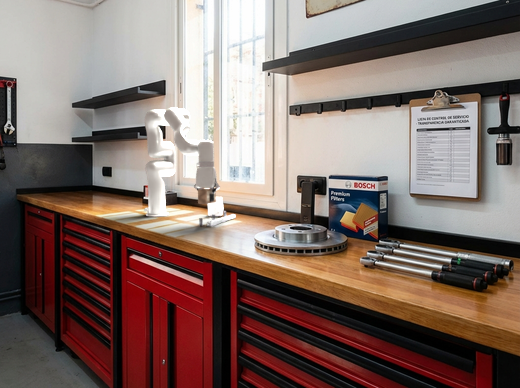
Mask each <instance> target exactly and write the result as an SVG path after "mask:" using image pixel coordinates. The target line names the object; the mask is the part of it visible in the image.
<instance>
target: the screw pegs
mask: <svg viewBox="0 0 520 388" xmlns="http://www.w3.org/2000/svg"><path fill="white" fill-rule="evenodd" d="M225 216H227V210H223V213H222V217H225ZM198 219H199V223H198V224H199V226H200V227H201V226H202V227H203V226H204V225H203V217H199V218H198ZM215 219H216V217H215V214H212V217H211V221H212V220H215Z"/></svg>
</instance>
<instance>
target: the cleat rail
mask: <svg viewBox="0 0 520 388" xmlns="http://www.w3.org/2000/svg"><path fill="white" fill-rule="evenodd" d="M236 216H237V215H236V213H235V214H234V213H231V214H227V215H226V216H225V217H223V216H222V217H219V218H215V220H212V219H211V220H210V221H207V222H206V226H207V227H213V226H217V225H219V224H222V223H225V222H227V221H231V220H233V219H236Z"/></svg>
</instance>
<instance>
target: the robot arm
mask: <svg viewBox="0 0 520 388" xmlns="http://www.w3.org/2000/svg"><path fill="white" fill-rule="evenodd" d="M190 120H191V115H190V112H189V111H188V110H187V109H185V108H178V107H169V108H166V109H150V110H148V111H147V112H146V113H145V117H144V127H145V130H146V131H145V132H146V140H147V141H146V144H147V145H146V148H147V154H148V156H149V157H150V158H153V160H149V161H147V163H146V165H145V168H144V169H145V174H146V179H147V180H146V181H147V194H148V195H147V199H148V207H145V208H144V209H143V212H146V213H145V215H146V217H155V218H156V217H166V216H169V212H167V208H166V203H167V202H166V184H165V181H164V179H163V177H172V176H173V175H174V174H175V173H176V167H177V166H176V164H177V163H176V149H175V146H176V148H177V149H178V150H179V152H180V153H181V154H182V155H185V156H198V162H197V163H196V166H198V167H197V168H196V173H195V184H194V185H193V188H195V190H196V191H197V192H198V190H199V189H205V188H209V189H210V202H213V201H214V193H215V192H216V193H217V191H218V190H219V189H220V188H221V186H220V184H219V183H218V177H217V171H216V167H215V159H214V158H215V157H214V155H215V153H214V141H212V139H211V140H209V139H207V140H205V139H202V140H201V139H200V140H197V139H186V137H185V136H186V135H187V134H188V133H189V131H190V129H191V128H190V124H189V122H190ZM160 126H166V127H167V126H168V127H170V128H171V130H172V131H173V132H174V135H173V136H174V137H173V138H174V139H173V140H174V143H172V142H171V141H167V140H166V141H165V140H163V131H162V130H161V128H160ZM174 144H175V145H174ZM154 158H155V160H154ZM157 158H158V159H157ZM161 158H162V160H161Z"/></svg>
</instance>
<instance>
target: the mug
mask: <svg viewBox="0 0 520 388" xmlns="http://www.w3.org/2000/svg"><path fill="white" fill-rule="evenodd" d="M224 209H225V208H224V203H223V197H222V196H216V202H213V203H209V204H207V216H208V217H211V218H212V214H215V218H216V217H221V216H222V217H223V211H224Z"/></svg>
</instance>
